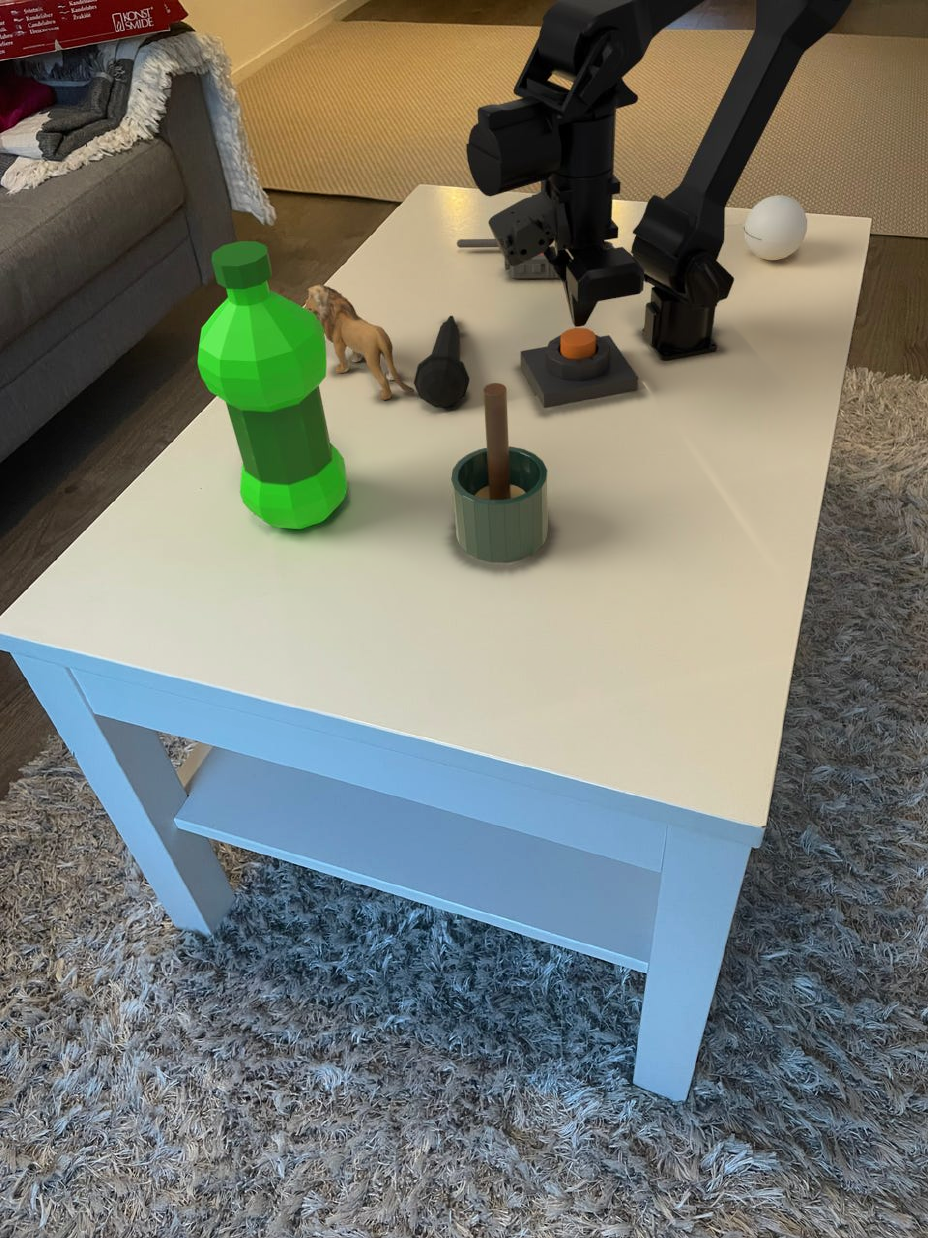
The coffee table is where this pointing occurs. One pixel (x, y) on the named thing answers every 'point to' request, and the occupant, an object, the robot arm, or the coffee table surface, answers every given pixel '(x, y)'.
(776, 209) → the white ball
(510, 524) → the green pen cup
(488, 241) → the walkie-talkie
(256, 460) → the plastic bottle
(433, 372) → the microphone
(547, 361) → the button unit
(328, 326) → the lion figurine
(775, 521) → the coffee table surface
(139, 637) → the coffee table surface
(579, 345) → the button
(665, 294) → the robot arm
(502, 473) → the brown wooden dowel
